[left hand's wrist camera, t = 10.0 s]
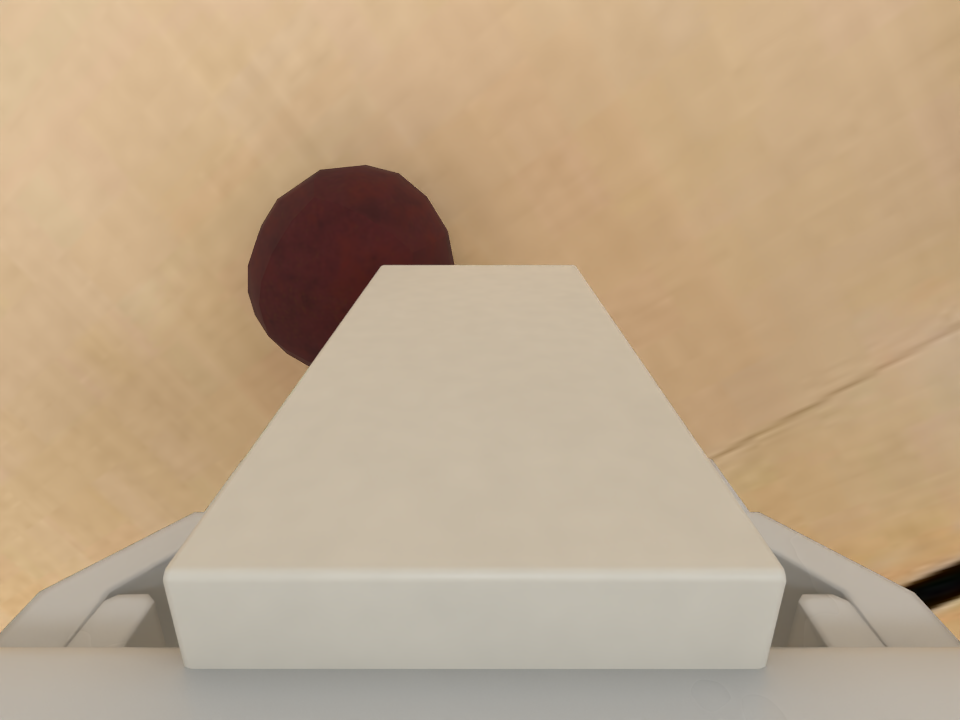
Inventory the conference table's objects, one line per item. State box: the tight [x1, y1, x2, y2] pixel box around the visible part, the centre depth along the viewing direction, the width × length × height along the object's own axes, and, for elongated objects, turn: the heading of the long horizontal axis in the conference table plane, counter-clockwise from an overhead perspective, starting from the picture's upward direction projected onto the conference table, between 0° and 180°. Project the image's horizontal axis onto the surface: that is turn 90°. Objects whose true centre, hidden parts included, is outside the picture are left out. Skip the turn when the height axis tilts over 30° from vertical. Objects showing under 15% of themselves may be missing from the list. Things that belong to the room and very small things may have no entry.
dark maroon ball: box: [248, 165, 454, 366], centre depth 22 cm, size 7×8×7 cm
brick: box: [163, 265, 786, 669], centre depth 10 cm, size 5×5×11 cm
